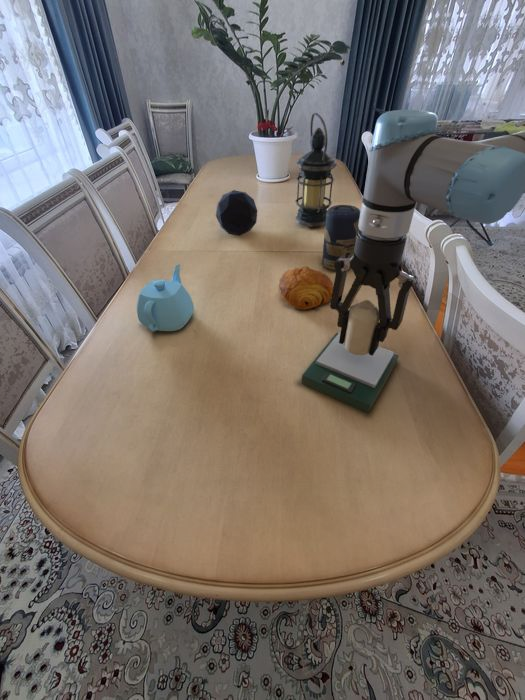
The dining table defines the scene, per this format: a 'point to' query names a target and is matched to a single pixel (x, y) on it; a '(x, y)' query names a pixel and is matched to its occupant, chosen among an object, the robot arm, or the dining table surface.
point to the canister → (340, 233)
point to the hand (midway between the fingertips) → (358, 345)
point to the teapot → (165, 304)
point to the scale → (350, 374)
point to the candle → (361, 327)
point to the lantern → (315, 179)
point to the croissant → (305, 287)
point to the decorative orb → (236, 212)
